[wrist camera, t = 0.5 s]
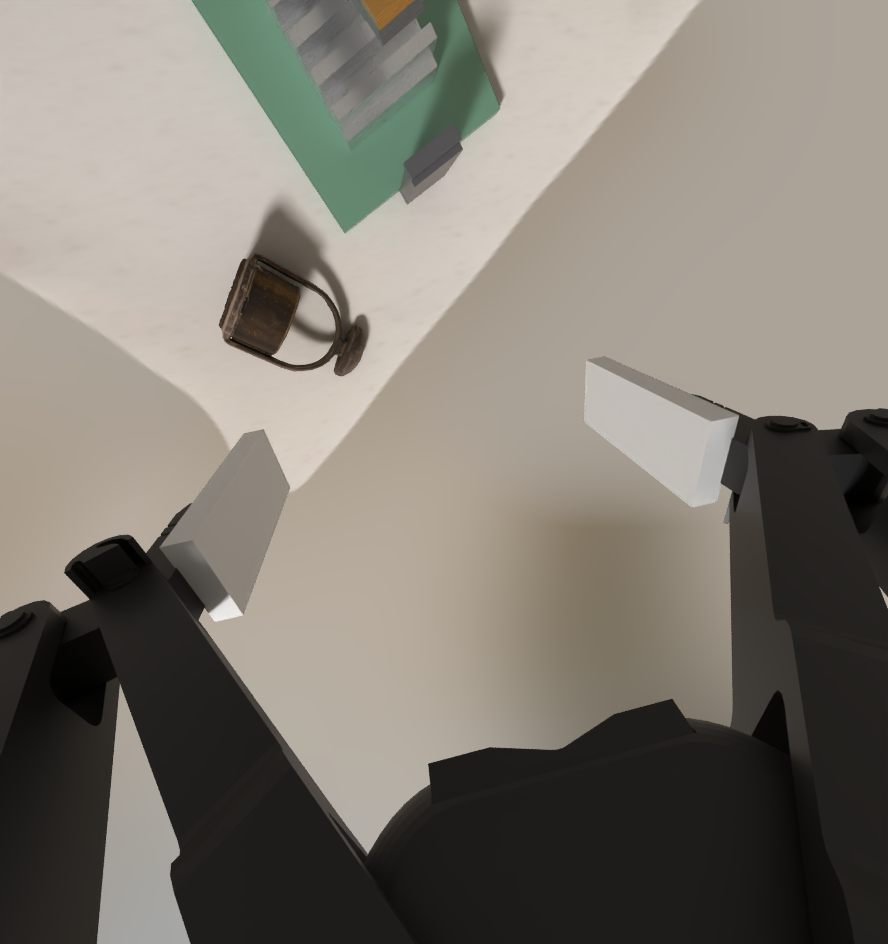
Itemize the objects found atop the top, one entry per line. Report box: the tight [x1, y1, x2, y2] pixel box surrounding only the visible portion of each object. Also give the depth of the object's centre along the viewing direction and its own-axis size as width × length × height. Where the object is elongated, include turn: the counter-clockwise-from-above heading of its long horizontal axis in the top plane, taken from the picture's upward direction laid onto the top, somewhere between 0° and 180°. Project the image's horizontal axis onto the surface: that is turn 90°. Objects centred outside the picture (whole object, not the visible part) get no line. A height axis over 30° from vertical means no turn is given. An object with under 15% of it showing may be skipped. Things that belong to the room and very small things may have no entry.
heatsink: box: [262, 0, 437, 151], centre depth 25 cm, size 10×8×5 cm
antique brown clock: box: [219, 253, 364, 376], centre depth 34 cm, size 7×13×10 cm
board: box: [192, 0, 500, 233], centre depth 28 cm, size 18×16×1 cm
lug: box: [399, 122, 463, 205], centre depth 29 cm, size 1×4×9 cm, turn 123°
